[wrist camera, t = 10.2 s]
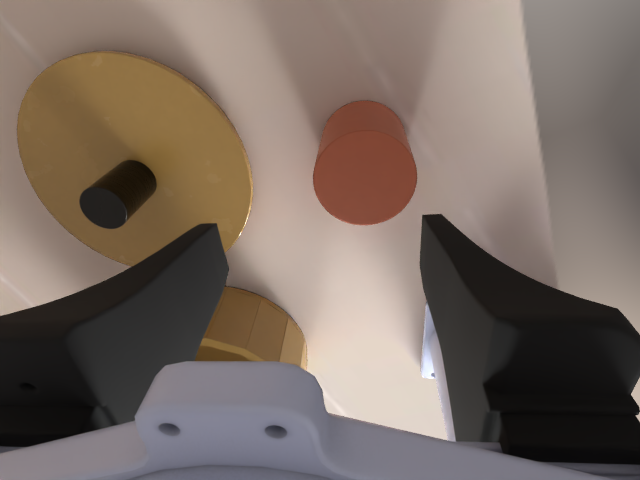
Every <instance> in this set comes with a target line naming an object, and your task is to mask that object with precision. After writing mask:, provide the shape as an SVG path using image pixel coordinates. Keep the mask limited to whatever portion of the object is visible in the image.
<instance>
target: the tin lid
mask: <svg viewBox="0 0 640 480" xmlns="http://www.w3.org/2000/svg"><path fill="white" fill-rule="evenodd" d="M17 140H18V147H19V153H20V157H21V160H22V164H23V167H24V170H25V172H26V175H27V177H28V179H29V181H30V183H31V185H32V187H33V189H34V190H35V192H36V194H37V196H38V197H39V199H40V200H41V201H42V203H43V204H44V206H45V207H46V208H47V210H48V211H49V212H50V213H51V214H52V215H53V217H54V218H55V219H56V220H57V221H58V222H59V223H60V224H61V225H62V226H63V227H64V228H65V229H66V230H67V231H68V232H70V233H71V234H72V235H73V236H75V237H76V238H77V239H78V240H80V241H81V242H83V243H84V244H86V245H87V246H89V247H90V248H92V249H93V250H95V251H97V252H99V253H100V254H102V255H104V256H106V257H108V258H111V259H113V260H115V261H117V262H120V263H123V264H126V265H129V266H134V265H136V264H138V263H139V262H141V261H142V260H144V259H146V258H147V257H149V256H151V255H152V254H154V253H155V252H157V251H159V250H160V249H162V248H163V247H165V246H166V245H168V244H169V243H171V242H172V241H173V240H175V239H176V238H178V237H179V236H181V235H182V234H184V233H185V232H187V231H188V230H190V229H192V228H193V227H195V226H197V225H199V224H203V223H217V226H218V230H219V233H220V237H221V241H222V245H223V249H224V252H226V251H227V250H228V249H229V248H230V247H231V246H232V245H233V244H234V243H235V241H236V240H237V239H238V238H239V236H240V234H241V233H242V231H243V229H244V227H245V225H246V223H247V220H248V217H249V214H250V211H251V205H252V199H253V181H252V173H251V168H250V164H249V160H248V156H247V154H246V151H245V149H244V146H243V144H242V141H241V139H240V138H239V136H238V134H237V132H236V130H235V128H234V127H233V125H232V124H231V122H230V121H229V119H228V118H227V117H226V115H225V114H224V112H223V111H222V110H221V109H220V108H219V107H218V105H217V104H216V103H215V102H214V101H213V100H212V99H211V98H210V97H209V96H208V95H207V94H206V93H205V92H204V91H202V90H201V89H200V88H199V87H198V86H197V85H196V84H194V83H193V82H191V81H190V80H189V79H187V78H186V77H184V76H183V75H182V74H180V73H178V72H176V71H174V70H173V69H171V68H169V67H167V66H165V65H163V64H161V63H158V62H156V61H154V60H151V59H149V58H146V57H142V56H138V55H135V54H131V53H124V52H117V51H93V52H87V53H81V54H77V55H74V56H71V57H68V58H65V59H62V60H60V61H58V62H56V63H55V64H53V65H51V66H50V67H48V68H47V69H46V70H44V71H43V72H42V73H41V74H40V75H39V76H38V77H37V78H36V79H35V80H34V82H33V83H32V84H31V85H30V87H29V88H28V90H27V92H26V94H25V96H24V98H23V100H22V103H21V107H20V110H19V114H18V123H17Z"/></svg>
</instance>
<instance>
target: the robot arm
mask: <svg viewBox="0 0 640 480" xmlns="http://www.w3.org/2000/svg"><path fill="white" fill-rule="evenodd" d="M420 270H421V277H422V283H423V289H424V293H425V296H426V299H427V302H426V308H425V321H424V334H423V347H422V360H421V375H422V377H424V378H436V383H437V388H438V393H439V399H440V404H441V409H442V414H443V419H444V424H445V429H446V434H447V439H448V441H447V440H443V439H438V438H434V437H430V436H425V435H421V434H417V433H413V432H408V431H404V430H400V429H395V428H391V427H387V426H382V425H378V424H374V423H370V422H365V421H361V420H357V419H352V418H348V417H344V416H339V415H335V414H331V413H328V412H327V411H326V408H325V405H324V399H323V391H322V389H321V387H320V385H319V383H318V381H317V380H316V378H315V376H313V375H312V374H310V373H309V372H307V371H305V370H304V369H302V368H300V367H299V366H297V365H294V364H288V363H283V362H277V361H195V358H196V355H197V352H198V349H199V347H200V344H201V341H202V339H203V337H204V335H205V332H206V330H207V328H208V325H209V323H210V321H211V319H212V316H213V314H214V312H215V310H216V307H217V305H218V303H219V300H220V298H221V296H222V293H223V290H224V287H225V283H226V279H227V275H228V271H229V267H228V264H227V260H226V256H225V252H224V249H223V245H222V241H221V237H220V233H219V230H218V226H217V223H203V224H199V225H197V226H195V227H193V228H192V229H190V230H188V231H187V232H185V233H184V234H182V235H181V236H179V237H178V238H176V239H175V240H173V241H172V242H171V243H169V244H168V245H166V246H165V247H163V248H162V249H160V250H159V251H157V252H155V253H154V254H152V255H151V256H149V257H147V258H146V259H144V260H142V261H141V262H139V263H138V264H136V265H134V266H132V267H131V268H129V269H127V270H125V271H123V272H121V273H119V274H117V275H115V276H113V277H111V278H109V279H107V280H105V281H103V282H101V283H98V284H96V285H94V286H91V287H89V288H87V289H84V290H82V291H80V292H77V293H75V294H72V295H69V296H66V297H64V298H61V299H58V300H55V301H52V302H49V303H46V304H43V305H39V306H36V307H33V308H29V309H25V310H22V311H18V312H14V313H11V314H7V315H3V316H0V480H640V422H639V420H638V419H637V417H636V416H635V415H638V414H639V412H640V410H639V406H638V405H637V403H636V402H635V400H634V399H633V397H632V396H631V393H632V391H633V389H634V387H635V385H636V383H637V381H638V379H639V377H640V335H639V333H638V332H637V331H636V330H635V328H634V327H633V326H632V324H631V323H630V322H629V321H628V320H627V318H626V317H625V316H624V315H623V314H622V313H621V312H620V311H619V310H618V309H617V308H613V307H610V306H606V305H603V304H600V303H596V302H592V301H589V300H585V299H582V298H579V297H576V296H574V295H571V294H568V293H565V292H563V291H560V290H557V289H555V288H552V287H550V286H547V285H545V284H543V283H541V282H538V281H536V280H534V279H532V278H530V277H528V276H526V275H524V274H522V273H520V272H518V271H516V270H514V269H513V268H511V267H509V266H507V265H506V264H504V263H502V262H501V261H499V260H497V259H496V258H494V257H493V256H491V255H490V254H489V253H487V252H486V251H484V250H483V249H482V248H480V247H479V246H478V245H476V244H475V243H474V242H472V241H471V240H470V239H469V238H468V237H466V236H465V235H464V234H463V233H462V232H461V231H459V230H458V229H457V228H456V227H455V226H454V225H453V224H452V223H451V222H449V221H448V220H447V219H446V218H445V217H444V216H443V215H442V214H429V215H422V231H421V249H420ZM433 372H434V373H433Z"/></svg>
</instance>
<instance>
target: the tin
mask: <svg viewBox="0 0 640 480" xmlns="http://www.w3.org/2000/svg"><path fill="white" fill-rule="evenodd" d="M195 361H277V362H283V363H288V364H294V365H297V366H299V367H300V368H302V369H304V370H305V371H306V368H307V346H306V342H305V339H304V336H303V334H302V332H301V330H300V328H299V327H298V325H297V324H296V323H295V321H294V320H293V319H292V318H291V317H290V316H289V315H288V314H287V313H286V312H285V311H284V310H283V309H281V308H280V307H279V306H277V305H276V304H274V303H273V302H271V301H269V300H267V299H266V298H263V297H261V296H259V295H257V294H254V293H251V292H248V291H245V290H241V289H237V288H232V287H224V290H223V293H222V296H221V298H220V300H219V303H218V305H217V307H216V310H215V312H214V314H213V316H212V319H211V321H210V323H209V325H208V328H207V330H206V332H205V335H204V337H203V339H202V341H201V344H200V347H199V349H198V352H197V355H196V358H195Z"/></svg>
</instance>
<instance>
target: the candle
mask: <svg viewBox="0 0 640 480" xmlns="http://www.w3.org/2000/svg"><path fill="white" fill-rule="evenodd" d="M416 183H417V169H416V165H415V162H414V158H413V155H412V152H411V149H410V146H409V143H408V140H407V137H406V134H405V131H404V128H403V125H402V123H401V121H400V119H399V118H398V116H397V115H396V114H395V113H394V112H393V111H392V110H391V109H389V108H388V107H386V106H384V105H382V104H380V103H377V102H373V101H356V102H353V103H349V104H347V105H345V106H343V107H341V108H340V109H338V110H337V111H336V112H335V113H334V114H333V115H332V116H331V117H330V118H329V120H328V121H327V123H326V125H325V127H324V130H323V133H322V137H321V142H320V146H319V150H318V155H317V159H316V163H315V168H314V173H313V184H314V190H315V193H316V196H317V198H318V200H319V201H320V203H321V204H322V206H323V207H324V208H325V209H326V210H327V211H328V212H329V213H330V214H331V215H333V216H334V217H336V218H337V219H339V220H341V221H344V222H346V223H350V224H354V225H373V224H378V223H381V222H384V221H386V220H389V219H391V218H392V217H394V216H396V215H397V214H398V213H399V212H401V211H402V210H403V209H404V208H405V207H406V205H407V204H408V203H409V201H410V199H411V198H412V196H413V194H414V191H415V188H416Z"/></svg>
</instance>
